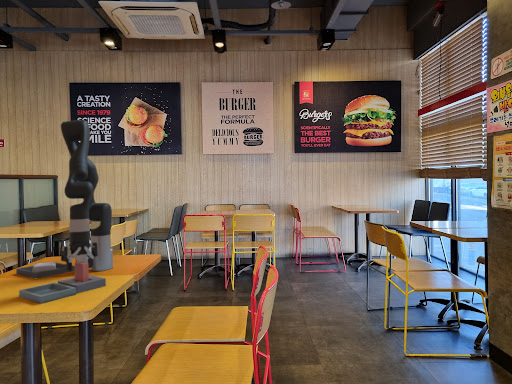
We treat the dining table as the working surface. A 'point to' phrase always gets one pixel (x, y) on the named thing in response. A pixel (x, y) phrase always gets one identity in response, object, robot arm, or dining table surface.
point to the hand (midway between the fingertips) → (80, 269)
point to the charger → (44, 267)
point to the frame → (28, 272)
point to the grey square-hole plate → (84, 283)
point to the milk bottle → (82, 257)
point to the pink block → (81, 272)
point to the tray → (47, 292)
